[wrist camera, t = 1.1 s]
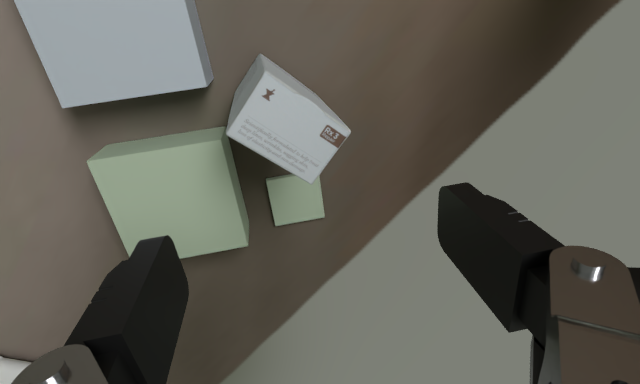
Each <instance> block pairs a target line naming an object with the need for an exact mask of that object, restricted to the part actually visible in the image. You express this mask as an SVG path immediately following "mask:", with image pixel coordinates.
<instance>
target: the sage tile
mask: <svg viewBox="0 0 640 384" xmlns="http://www.w3.org/2000/svg"><path fill="white" fill-rule="evenodd" d="M266 183H267V188H268V193H269V198H270V202H271V207H272V212H273V217H274V222H275V226H279V225H285V224H290V223H296V222H301V221H307V220H312V219H318V218H323V217H325V215H324V208H323V200H322V193H321V185H320V177H319V176H318V177H317V179H316V180H315V182H314V183H313V184H312V185H311V184H309V183H308V182H306V181H304V180H302V179H301V178H299V177H297V176H296V175H294V174H289V175H283V176H277V177H271V178H266Z"/></svg>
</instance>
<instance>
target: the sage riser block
mask: <svg viewBox="0 0 640 384" xmlns="http://www.w3.org/2000/svg"><path fill="white" fill-rule="evenodd" d="M86 162H87V164H88V166H89V168H90V171H91V173H92V175H93V177H94V179H95V182H96V184H97V186H98V188H99V191H100V193H101V195H102V197H103V199H104V202H105V204H106V206H107V208H108V211H109V213H110V215H111V217H112V219H113V222H114V224H115V226H116V228H117V231H118V233H119V235H120V237H121V239H122V242H123V244H124V246H125V248H126V251H127V253H128V255H129V257H130V256H131V254H132V252H133V250H134V249H135V247H136V245H137V243H138V242H139V241H140V240H144V239H149V238H155V237H160V236H166V235H168V236H170V237H171V239H172V240H173V242H174V245H175V248H176V250H177V253H178V256H179V259H181V258H186V257H192V256H197V255H202V254H208V253H213V252H219V251H224V250H230V249H235V248H240V247H246V246H248V240H249V219H248V215H247V211H246V207H245V203H244V199H243V195H242V191H241V187H240V183H239V179H238V175H237V171H236V167H235V163H234V159H233V154H232V150H231V146H230V142H229V138H228V136H227V135H226V126H223V127H217V128H210V129H204V130H198V131H191V132H185V133H178V134H172V135H166V136H159V137H153V138H146V139H140V140H134V141H127V142H121V143H115V144H108V145H106V146H105V147H104V148H102V149H101V150H100V151H99V152H97V153H96V154H95V155H94V156H92V157H91V158H90V159H89V160H87V161H86Z"/></svg>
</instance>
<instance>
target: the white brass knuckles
mask: <svg viewBox="0 0 640 384" xmlns="http://www.w3.org/2000/svg"><path fill="white" fill-rule="evenodd" d="M31 363H32V362H28V361H22V360H16V359H10V358H4V357H2V356H0V384H11V383H12V382H13V381H14V379H15V378H16V377H17V376H18V375H19V374H20V373H21V372H22V371H23V370H24V369H25V368H26V367H27V366H28V365H30V364H31Z"/></svg>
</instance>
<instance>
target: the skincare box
mask: <svg viewBox="0 0 640 384" xmlns="http://www.w3.org/2000/svg"><path fill="white" fill-rule="evenodd" d="M350 133H351V131H350V129H349V128H348V127H347V126H346V125H345V124H344V122H343V121H342V120H341V119H340V118H339V117H338V116H337V115H336V114H335V113H334V112H333V111H332V110H331V109H330V108H329V107H328V106H327V105H326V104H325V103H324V102H323V101H322V100H321V99H320V98H319V97H318V96H317V95H316V94H315V93H314V92H312V91H311V90H310V89H309V88H307V87H306V86H305V85H303V84H302V83H301V82H299V81H298V80H297V79H295V78H294V77H293V76H291V75H290V74H289V73H287V72H286V71H284V70H283V69H282V68H280V67H279V66H278V65H276V64H275V63H273V62H272V61H271V60H269V59H268V58H266V57H265V56H264V55H262V54H259V55H258V56H257V58H256V59H255V61H254V63H253V64H252V66H251V67H250V69H249V70H248V72H247V74H246V75H245V77H244V78H243V80H242V82H241V83H240V85H239V86H238V88H237V90H236V92H235V94H234V99H233V103H232V107H231V111H230V115H229V119H228V125H227V128H226V135H227V136H229V137H230V138H232V139H234V140H235V141H237V142H239V143H241V144H242V145H244V146H246V147H248V148H249V149H251V150H253V151H254V152H256V153H258V154H260V155H261V156H263V157H265V158H266V159H268V160H270V161H271V162H273V163H275V164H277V165H278V166H280V167H282V168H283V169H285V170H287V171H289V172H290V173H292V174H294V175H296V176H297V177H299V178H301V179H302V180H304V181H306V182H308V183H309V184H311V185H312V184H313V183H314V182H315V180H316V179H317V177H318V176H319V175H320V173H321V172H322V171H323V169H324V168H325V167H326V165H327V164H328V162H329V161H330V160H331V158H332V157H333V156H334V154H335V153H336V152H337V150H338V149H339V148H340V146H341V145H342V144H343V142H344V141H345V140H346V139H347V137H348V136H349V135H350Z"/></svg>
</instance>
